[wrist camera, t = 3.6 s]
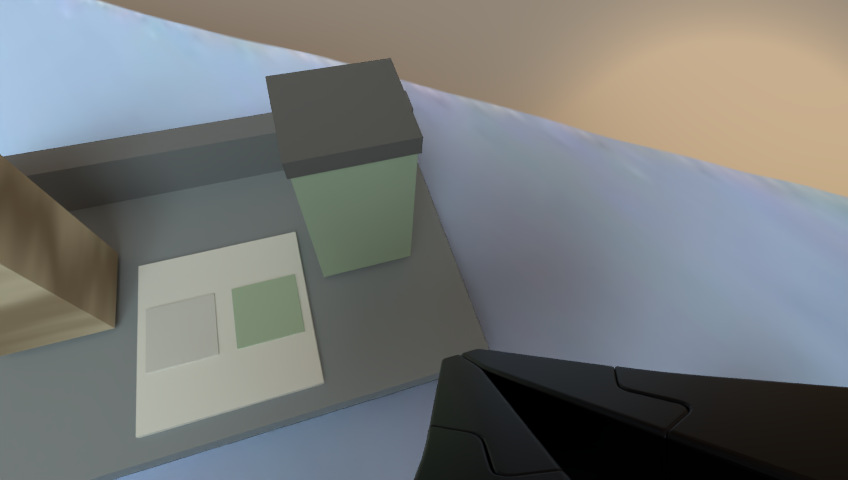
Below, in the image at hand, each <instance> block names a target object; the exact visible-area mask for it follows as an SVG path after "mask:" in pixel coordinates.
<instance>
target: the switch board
mask: <svg viewBox="0 0 848 480" xmlns="http://www.w3.org/2000/svg"><path fill="white" fill-rule="evenodd" d="M404 92H405V95H406V97H407V99H408V102H409V104H410V107H411V109H412V112H413V107H412V105H411V102H410V100H409V98H408V95H407V93H406V91H404ZM4 158H5V159H6V160H7V161H9V162H10V163H11V164H12V165H13V166H15V167H16V168H17V169H18V170H19V171H20V172H22V173H23V174H24V175H25V176H26V177H28V178H29V179H30V180H31V181H32V182H34V183H35V184H36V185H37V186H38V187H40V188H41V189H42V190H43V191H44V192H46V193H47V194H48V195H49V196H50V197H52V198H53V199H54V200H55V201H56V202H57V203H59V204H60V205H61V206H62V207H63V208H65V209H66V210H67V211H68V212H69V213H71V214H72V215H73V216H74V217H75V218H77V219H78V220H79V221H80V222H81V223H83V224H84V225H85V226H86V227H87V228H88V229H90V230H91V231H92V232H93V233H94V234H96V235H97V236H98V237H99V238H100V239H102V240H103V241H104V242H105V243H106V244H108V245H109V246H110V247H111V248H112V249H114V250H115V251H116V252H117V253H118V267H117V290H116V314H115V328H114V329H110V330H106V331H102V332H98V333H93V334H89V335H85V336H81V337H77V338H73V339H69V340H65V341H61V342H57V343H53V344H48V345H44V346H40V347H36V348H32V349H28V350H24V351H20V352H16V353H12V354H8V355H4V356H0V480H113V479H116V478H119V477H123V476H126V475H129V474H132V473H136V472H139V471H142V470H145V469H149V468H152V467H155V466H158V465H161V464H165V463H168V462H171V461H174V460H178V459H181V458H184V457H187V456H191V455H194V454H197V453H200V452H204V451H207V450H210V449H213V448H217V447H220V446H223V445H226V444H229V443H233V442H236V441H239V440H242V439H246V438H249V437H252V436H255V435H259V434H262V433H265V432H268V431H272V430H275V429H278V428H281V427H284V426H288V425H291V424H294V423H297V422H301V421H304V420H307V419H310V418H314V417H317V416H320V415H323V414H327V413H330V412H333V411H336V410H339V409H343V408H346V407H349V406H352V405H356V404H359V403H362V402H365V401H369V400H372V399H375V398H378V397H382V396H385V395H388V394H391V393H395V392H398V391H401V390H404V389H407V388H411V387H414V386H417V385H420V384H424V383H427V382H430V381H433V380H437V379H438V378H439V373H440V367H441V362H442V360H443V359H444V358H447V357H451V356H454V355H462V354H463V353H464V352H468V351H471V350H475V349H485V350H489V347H488V345H487V342H486V340H485V337H484V334H483V332H482V329H481V327H480V324H479V321H478V319H477V316H476V314H475V311H474V308H473V306H472V303H471V300H470V298H469V295H468V293H467V290H466V287H465V285H464V282H463V280H462V277H461V274H460V272H459V269H458V267H457V264H456V261H455V259H454V256H453V254H452V251H451V248H450V246H449V243H448V241H447V238H446V235H445V233H444V230H443V227H442V225H441V222H440V220H439V217H438V214H437V212H436V209H435V207H434V204H433V201H432V199H431V196H430V194H429V191H428V188H427V186H426V183H425V181H424V178H423V175H422V173H421V170H420V168H419V165H418V162H417V172H416V186H415V200H414V214H413V228H412V242H411V256H408V257H404V258H400V259H396V260H392V261H388V262H384V263H380V264H376V265H371V266H367V267H363V268H359V269H355V270H351V271H347V272H343V273H339V274H335V275H331V276H327V277H324V276H323V273H322V270H321V267H320V264H319V261H318V258H317V255H316V252H315V249H314V246H313V244H312V241H311V238H310V235H309V232H308V229H307V226H306V223H305V220H304V217H303V214H302V211H301V208H300V205H299V202H298V199H297V196H296V193H295V190H294V187H293V184H292V181H291V179H287V177H286V174H285V172H284V169H283V166H282V162H281V157H280V152H279V146H278V141H277V136H276V130H275V125H274V120H273V114H272V113H266V114H260V115H254V116H248V117H242V118H236V119H230V120H224V121H217V122H211V123H205V124H199V125H193V126H187V127H181V128H175V129H169V130H163V131H156V132H150V133H144V134H138V135H132V136H126V137H120V138H114V139H108V140H102V141H95V142H89V143H83V144H77V145H71V146H65V147H59V148H53V149H47V150H41V151H34V152H28V153H22V154H16V155H10V156H4Z"/></svg>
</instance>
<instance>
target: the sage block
mask: <svg viewBox="0 0 848 480" xmlns="http://www.w3.org/2000/svg"><path fill="white" fill-rule="evenodd" d="M266 82H267V88H268V93H269V98H270V104H271V109H272V114H273V120H274V125H275V130H276V136H277V141H278V146H279V152H280V157H281V162H282V166H283V169H284V172H285V174H286V177H287V179H291V181H292V184H293V187H294V190H295V193H296V196H297V199H298V202H299V205H300V208H301V211H302V214H303V217H304V220H305V223H306V226H307V229H308V232H309V235H310V238H311V241H312V244H313V246H314V249H315V252H316V255H317V258H318V261H319V264H320V267H321V270H322V273H323V276H324V277H327V276H331V275H335V274H339V273H343V272H347V271H351V270H355V269H359V268H363V267H367V266H371V265H376V264H380V263H384V262H388V261H392V260H396V259H400V258H404V257H408V256H411V242H412V228H413V214H414V200H415V186H416V172H417V158H418V154H419V153H422V141H423V136H422V134H421V131H420V129H419V127H418V124H417V122H416V119H415V117H414V114H413V112H412V109H411V107H410V104H409V102H408V99H407V97H406V95H405V92H404V90H403V87H402V85H401V82H400V80H399V77H398V75H397V73H396V70H395V67H394V65H393V63H392V60H391V58H388V59H381V60H375V61H368V62H361V63H354V64H347V65H341V66H334V67H327V68H320V69H313V70H307V71H300V72H293V73H286V74H279V75H273V76H266Z"/></svg>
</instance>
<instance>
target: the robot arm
mask: <svg viewBox="0 0 848 480" xmlns="http://www.w3.org/2000/svg"><path fill="white" fill-rule="evenodd" d="M414 480H848V387H837V386H825V385H812V384H800V383H787V382H775V381H762V380H750V379H737V378H725V377H712V376H700V375H689V374H679V373H668V372H659V371H650V370H642V369H633V368H626V367H618V366H617V367H615V369H614V367H612V366H605V365H597V364H590V363H582V362H575V361H567V360H560V359H552V358H545V357H537V356H530V355H522V354H515V353H507V352H500V351H492V350H485V349H475V350H471V351H468V352H464V353H463V354H462V355H454V356H451V357H447V358H444V359H443V360H442V362H441V367H440V373H439V378H438V384H437V389H436V395H435V400H434V405H433V411H432V416H431V422H430V427H429V430H428V435H427V440H426V444H425V448H424V452H423V456H422V459H421V462H420V465H419V467H418V470H417V473H416V475H415V478H414Z"/></svg>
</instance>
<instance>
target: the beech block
mask: <svg viewBox="0 0 848 480" xmlns="http://www.w3.org/2000/svg"><path fill="white" fill-rule="evenodd" d="M117 267H118V253H117V252H116V251H115V250H114V249H112V248H111V247H110V246H109V245H108V244H106V243H105V242H104V241H103V240H102V239H100V238H99V237H98V236H97V235H96V234H94V233H93V232H92V231H91V230H90V229H88V228H87V227H86V226H85V225H84V224H83V223H81V222H80V221H79V220H78V219H77V218H75V217H74V216H73V215H72V214H71V213H69V212H68V211H67V210H66V209H65V208H63V207H62V206H61V205H60V204H59V203H57V202H56V201H55V200H54V199H53V198H52V197H50V196H49V195H48V194H47V193H46V192H44V191H43V190H42V189H41V188H40V187H38V186H37V185H36V184H35V183H34V182H32V181H31V180H30V179H29V178H28V177H26V176H25V175H24V174H23V173H22V172H20V171H19V170H18V169H17V168H16V167H15V166H13V165H12V164H11V163H10V162H9V161H7V160H6V159H5V158H4V157H3V156H1V155H0V356H4V355H8V354H12V353H16V352H20V351H24V350H28V349H32V348H36V347H40V346H44V345H48V344H53V343H57V342H61V341H65V340H69V339H73V338H77V337H81V336H85V335H89V334H93V333H98V332H102V331H106V330H110V329H114V328H115V314H116V290H117Z"/></svg>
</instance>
